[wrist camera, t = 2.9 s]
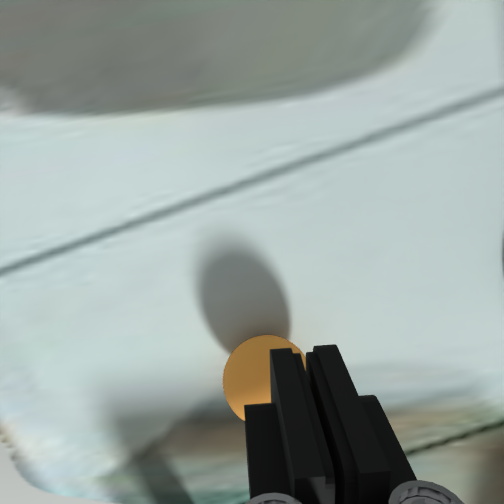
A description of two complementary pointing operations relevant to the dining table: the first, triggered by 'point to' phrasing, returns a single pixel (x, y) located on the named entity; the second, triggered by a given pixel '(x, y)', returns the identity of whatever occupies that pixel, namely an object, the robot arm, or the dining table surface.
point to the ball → (252, 371)
